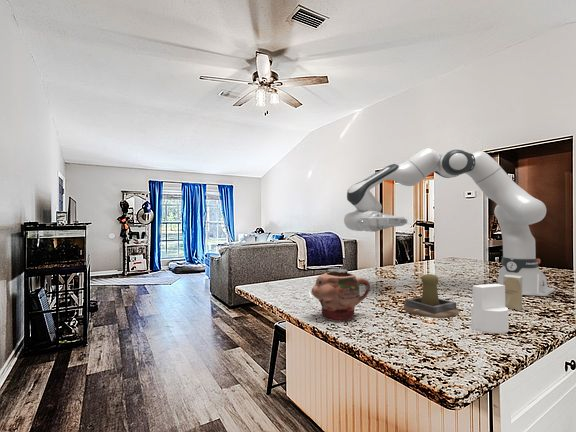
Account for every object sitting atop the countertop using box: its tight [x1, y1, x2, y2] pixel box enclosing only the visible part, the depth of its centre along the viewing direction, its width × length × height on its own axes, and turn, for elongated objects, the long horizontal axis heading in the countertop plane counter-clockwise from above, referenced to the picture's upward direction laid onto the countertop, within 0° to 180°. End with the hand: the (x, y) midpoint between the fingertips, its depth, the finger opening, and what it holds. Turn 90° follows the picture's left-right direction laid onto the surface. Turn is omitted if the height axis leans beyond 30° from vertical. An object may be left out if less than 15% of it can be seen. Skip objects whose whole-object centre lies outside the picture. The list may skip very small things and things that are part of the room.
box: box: [503, 275, 523, 311], centre depth 110 cm, size 5×4×11 cm
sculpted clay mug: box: [311, 271, 371, 322], centre depth 103 cm, size 20×12×14 cm, turn 110°
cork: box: [421, 273, 440, 306], centre depth 109 cm, size 6×6×11 cm
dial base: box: [403, 296, 460, 319], centre depth 109 cm, size 17×17×3 cm
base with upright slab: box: [470, 283, 510, 334], centre depth 91 cm, size 9×9×12 cm
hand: (397, 221), depth 126 cm, fingers open, 8 cm apart
